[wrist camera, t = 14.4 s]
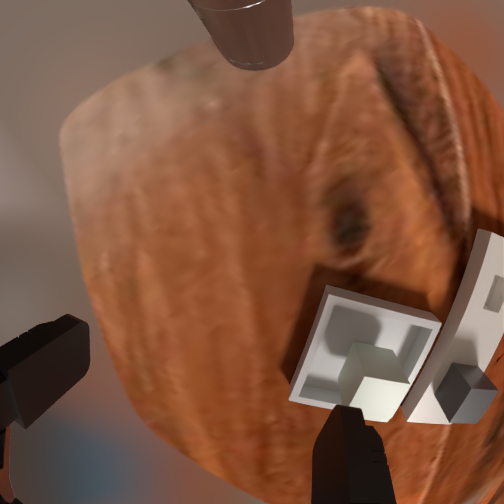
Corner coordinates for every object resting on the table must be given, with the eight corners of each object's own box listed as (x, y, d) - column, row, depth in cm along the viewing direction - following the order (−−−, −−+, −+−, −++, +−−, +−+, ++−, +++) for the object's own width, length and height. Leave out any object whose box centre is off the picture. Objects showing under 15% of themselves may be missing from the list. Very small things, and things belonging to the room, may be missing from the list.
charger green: (350, 332, 36) (364, 376, 26) (388, 340, 35) (410, 384, 25) (335, 367, 37) (343, 416, 27) (372, 374, 36) (387, 422, 27)
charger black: (445, 353, 34) (471, 388, 25) (471, 358, 33) (498, 390, 25) (428, 384, 35) (449, 422, 26) (454, 388, 34) (477, 423, 26)
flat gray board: (477, 228, 31) (494, 232, 27) (518, 247, 30) (535, 252, 26) (401, 407, 37) (407, 424, 33) (444, 411, 36) (452, 426, 33)
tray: (326, 284, 36) (328, 294, 32) (431, 312, 34) (442, 323, 31) (289, 384, 39) (288, 400, 36) (386, 403, 38) (391, 418, 34)
